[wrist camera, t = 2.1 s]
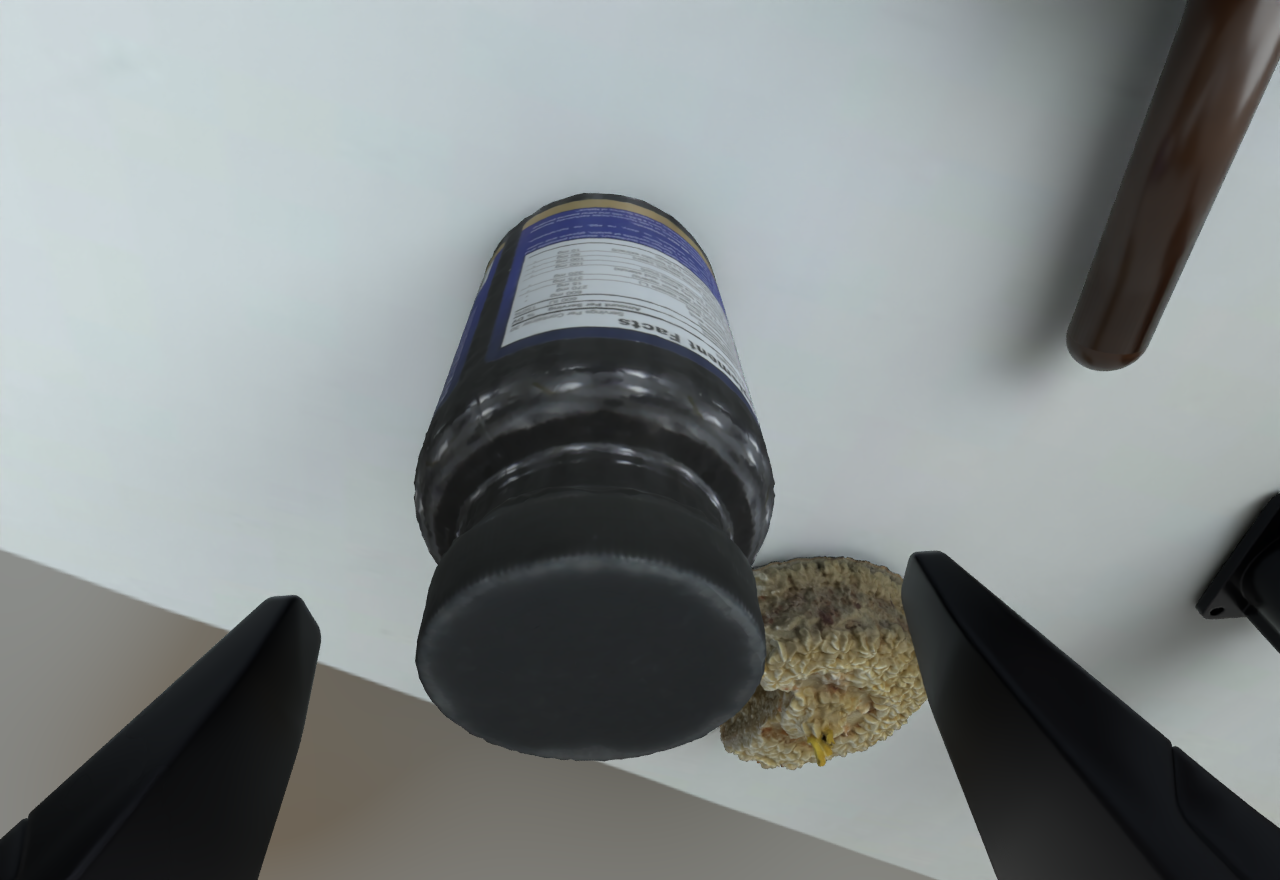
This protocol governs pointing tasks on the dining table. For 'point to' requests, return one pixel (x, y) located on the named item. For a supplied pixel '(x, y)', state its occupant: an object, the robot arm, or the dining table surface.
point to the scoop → (1174, 174)
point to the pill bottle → (594, 495)
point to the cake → (827, 664)
